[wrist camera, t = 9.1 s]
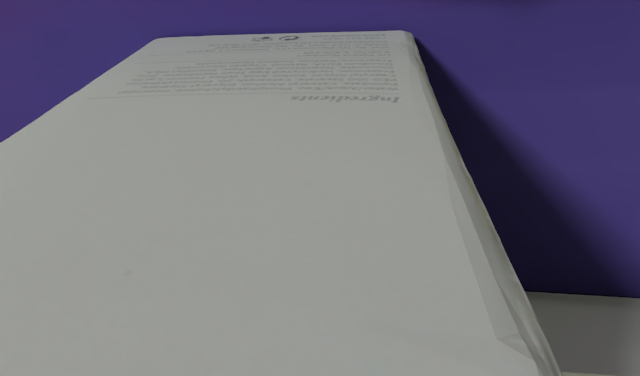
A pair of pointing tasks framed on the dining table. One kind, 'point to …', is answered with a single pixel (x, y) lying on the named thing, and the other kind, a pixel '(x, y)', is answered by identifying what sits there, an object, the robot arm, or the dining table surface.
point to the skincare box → (255, 222)
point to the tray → (590, 332)
